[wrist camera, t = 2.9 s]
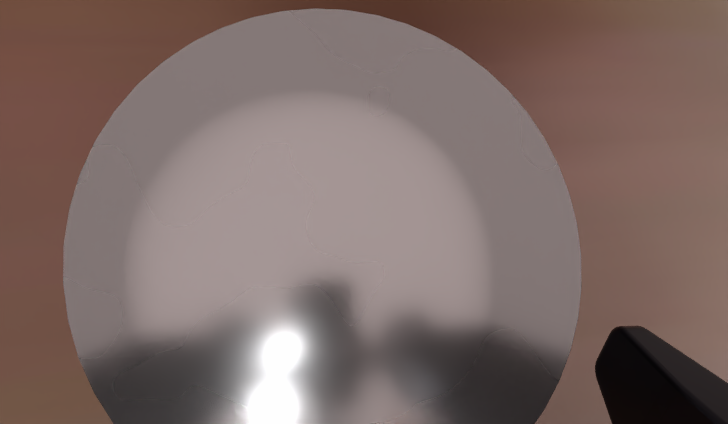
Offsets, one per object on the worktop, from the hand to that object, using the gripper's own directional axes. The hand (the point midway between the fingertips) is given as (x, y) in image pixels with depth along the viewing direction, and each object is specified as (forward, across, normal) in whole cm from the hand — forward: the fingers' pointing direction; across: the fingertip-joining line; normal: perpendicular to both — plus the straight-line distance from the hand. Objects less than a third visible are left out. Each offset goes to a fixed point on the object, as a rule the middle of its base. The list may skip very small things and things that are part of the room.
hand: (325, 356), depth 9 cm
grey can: (+8, 0, +6) cm, 10 cm away
